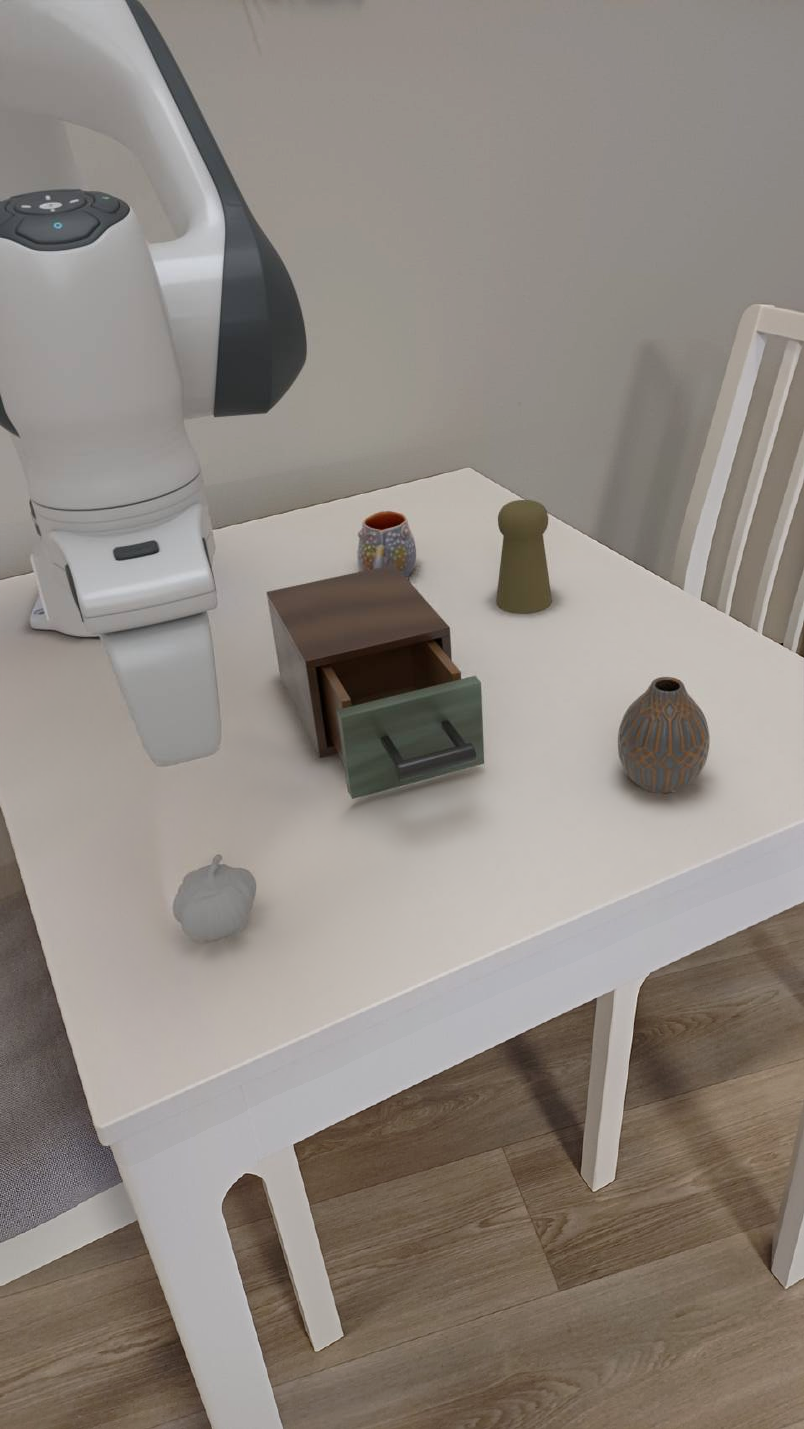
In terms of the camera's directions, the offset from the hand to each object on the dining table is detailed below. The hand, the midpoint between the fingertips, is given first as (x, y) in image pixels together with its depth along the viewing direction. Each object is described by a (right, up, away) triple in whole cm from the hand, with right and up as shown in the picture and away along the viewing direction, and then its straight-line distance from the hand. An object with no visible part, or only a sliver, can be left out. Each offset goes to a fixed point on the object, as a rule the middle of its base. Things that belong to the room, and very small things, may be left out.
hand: (179, 744), depth 61 cm
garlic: (+1, -13, +8) cm, 15 cm away
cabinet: (+10, +3, +32) cm, 34 cm away
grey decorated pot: (+12, +17, +54) cm, 58 cm away
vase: (+34, -3, +18) cm, 39 cm away
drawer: (+14, -2, +22) cm, 26 cm away
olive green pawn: (+27, +14, +47) cm, 56 cm away
